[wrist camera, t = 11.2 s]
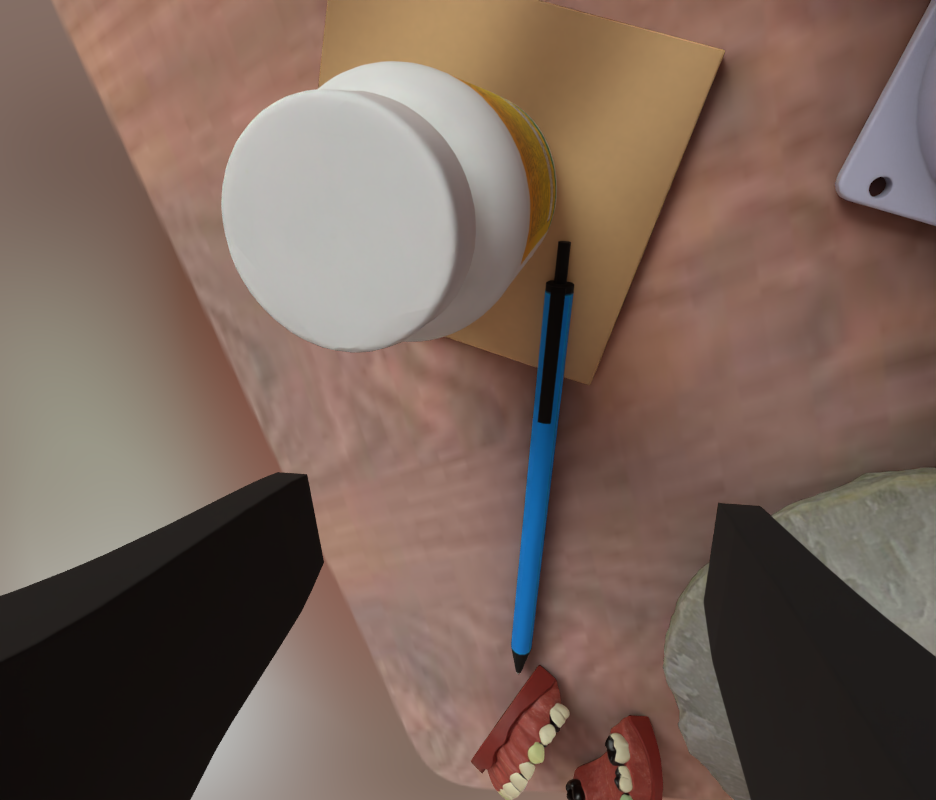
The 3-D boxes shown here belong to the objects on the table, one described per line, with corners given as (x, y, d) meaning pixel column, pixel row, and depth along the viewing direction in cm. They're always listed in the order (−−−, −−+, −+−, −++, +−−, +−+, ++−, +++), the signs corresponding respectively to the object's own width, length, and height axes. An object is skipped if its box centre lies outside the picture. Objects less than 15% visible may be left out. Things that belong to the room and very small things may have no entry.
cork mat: (723, 52, 15) (726, 50, 14) (590, 381, 19) (589, 386, 19) (339, -52, 16) (333, -56, 15) (301, 284, 20) (295, 287, 20)
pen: (580, 240, 17) (578, 246, 16) (529, 667, 25) (525, 688, 24) (551, 238, 17) (547, 244, 16) (510, 663, 26) (506, 684, 25)
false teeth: (618, 886, 24) (450, 801, 24) (617, 788, 28) (471, 716, 28) (687, 823, 21) (500, 729, 22) (675, 725, 25) (515, 646, 26)
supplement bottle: (497, 308, 18) (396, 450, 10) (363, 215, 18) (145, 281, 10) (598, 158, 16) (576, 180, 8) (443, 49, 16) (241, -55, 7)
